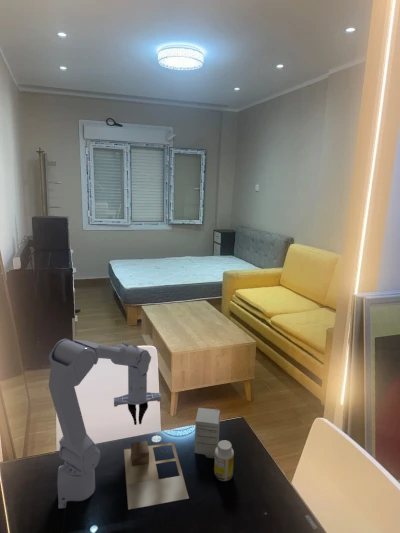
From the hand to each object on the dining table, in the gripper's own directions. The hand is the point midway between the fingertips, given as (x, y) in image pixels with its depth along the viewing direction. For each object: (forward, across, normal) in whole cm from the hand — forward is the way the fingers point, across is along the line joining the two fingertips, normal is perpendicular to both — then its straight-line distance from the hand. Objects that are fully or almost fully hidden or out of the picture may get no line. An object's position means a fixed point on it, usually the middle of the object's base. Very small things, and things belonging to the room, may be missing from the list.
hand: (137, 422), depth 115 cm
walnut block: (+7, 0, +8) cm, 10 cm away
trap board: (+8, -4, +14) cm, 16 cm away
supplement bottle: (+9, -24, +18) cm, 31 cm away
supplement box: (+9, -22, +6) cm, 24 cm away
